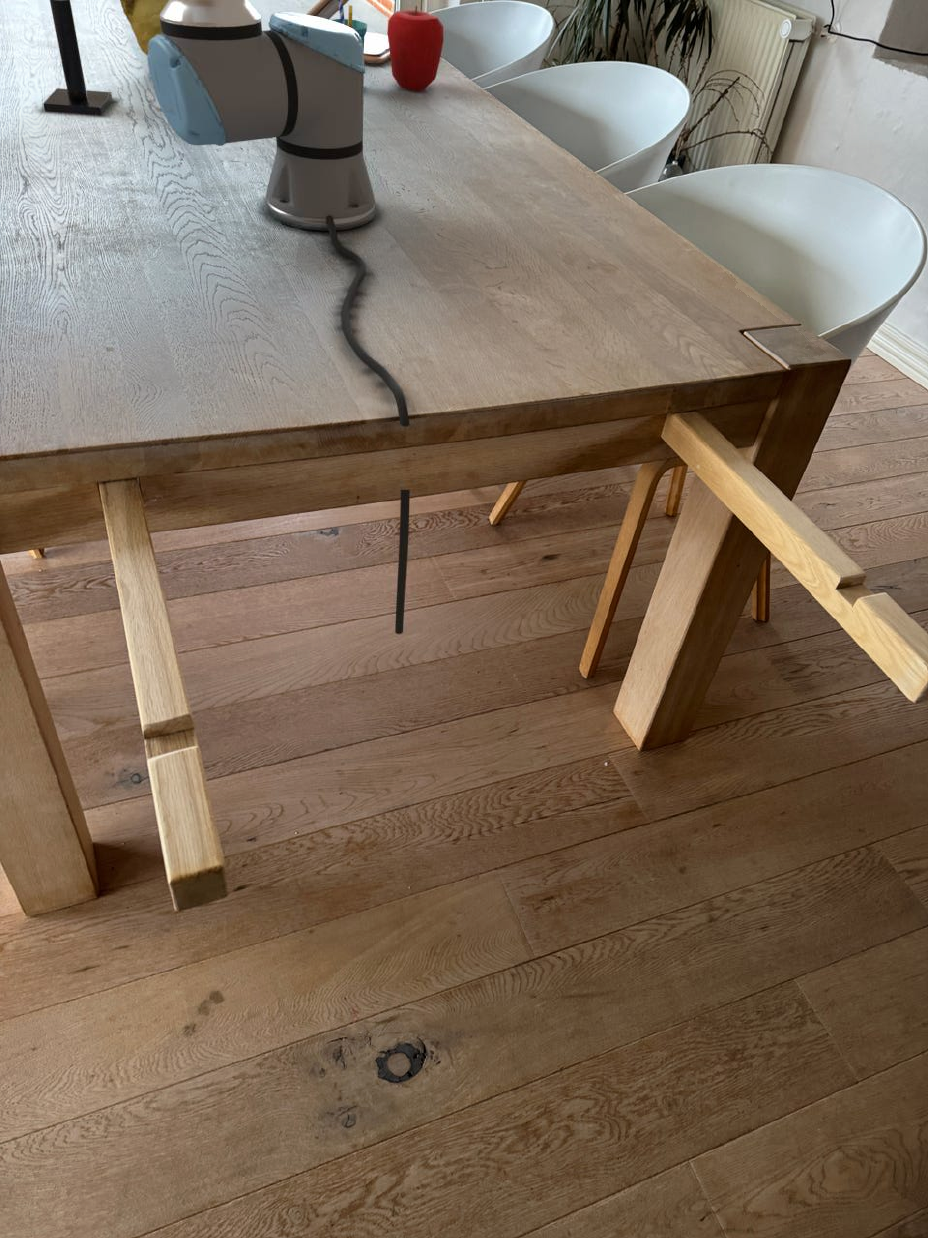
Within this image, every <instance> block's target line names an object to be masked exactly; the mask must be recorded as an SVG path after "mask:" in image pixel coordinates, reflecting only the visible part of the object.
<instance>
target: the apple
mask: <svg viewBox="0 0 928 1238" xmlns="http://www.w3.org/2000/svg"><path fill="white" fill-rule="evenodd" d="M386 35H388V43H389V50H390V58H389V59H390V67H391V75H392V77H393V78H394V80H395V82H396V83H397V84H398V86H399V87H400V88H402V89H405V90H407V91H412V92H419V91H423V90H425V89H426V88H428V87H429V86H430V85H431V84H432V83H433V82H434V81H435V80H436V77H437V75H438V69H439V65H440V62H441V57H442V52H443V46H444V42H445V41H444V38H445V37H444V25H443V23H442V22H441V20H440V19H439V17H438V16H436V15H435V14H433V13H428V12H425V11H421V10H418V6H417V5H416V6H415V9H404V10H396V11H395V12H393V13H392V15H391V16H390V17H389V19H388V20H387V33H386Z"/></svg>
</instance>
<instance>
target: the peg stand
mask: <svg viewBox="0 0 928 1238" xmlns="http://www.w3.org/2000/svg"><path fill="white" fill-rule="evenodd" d="M49 4H50V8H51V14H52V19H53V24H54V29H55V30H54V31H55V35H56V40H57V45H58V50H59V56H60V60H61V65H62V72H63V77H64V81H65V86H66V88H60V87H59V88H57V87H56V88H55V90H54V91H53V92H52V93H51V95H50V96H48V97H47V99H45V101H44V102H43V103H42V105H43V109H44V110H43V111H44V112H47V113H61V114H73V115H74V114H75V115H87V116H88V115H89V116H102V115H104V112H105V111H106V110H107V109H108V107H109V106H110V104H111V103H112V102H113V94H112V92H111V91H100V90H88V89H87V87H86V81H85V76H84V75H85V74H84V70H83V64H82V59H81V58H82V57H81V53H80V47H79V43H78V36H77V31H76V24H75V20H74V14H73V8H72V4H71V0H49Z"/></svg>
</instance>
